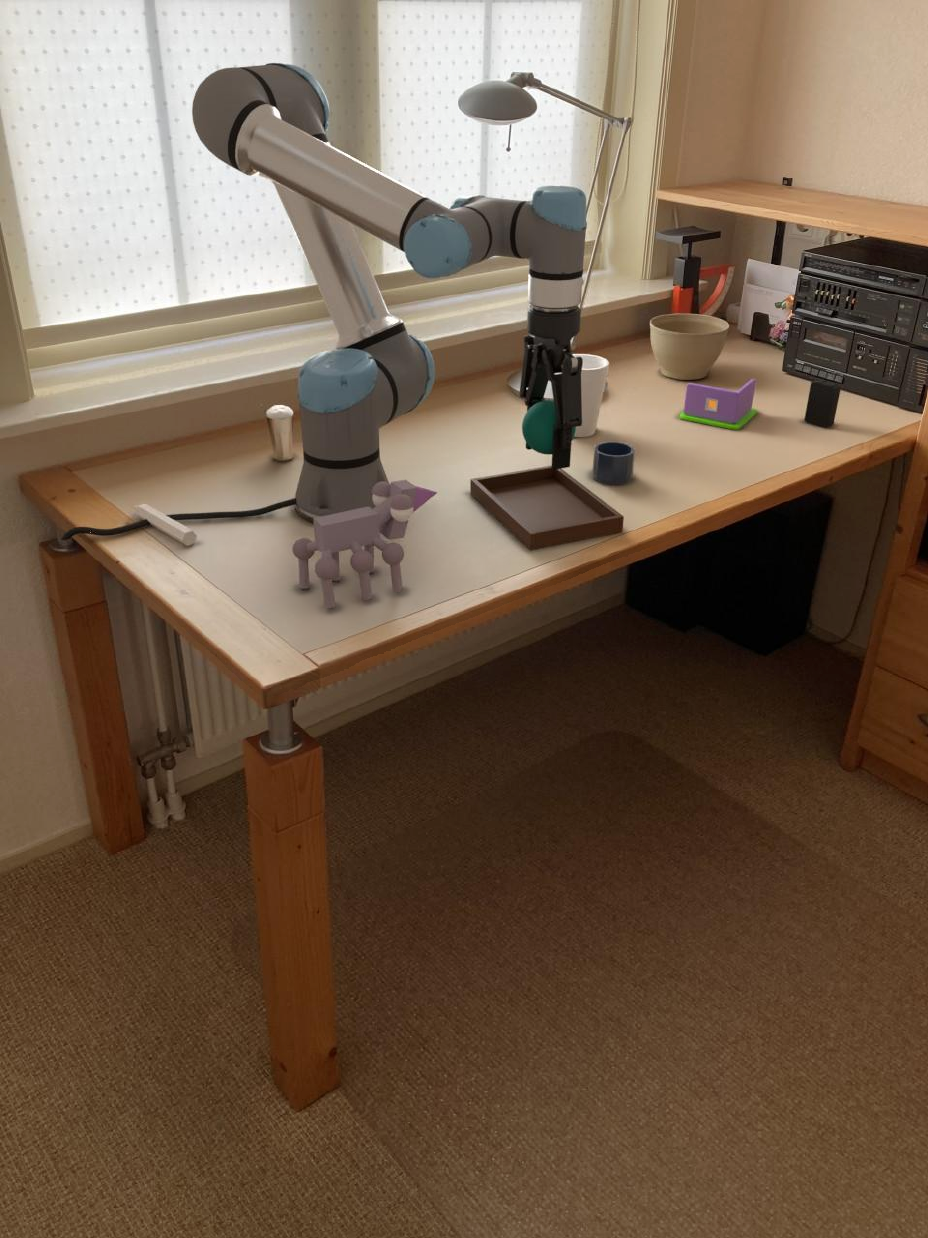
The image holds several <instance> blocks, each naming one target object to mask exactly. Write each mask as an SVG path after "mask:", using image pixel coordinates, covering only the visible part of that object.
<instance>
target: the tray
mask: <svg viewBox="0 0 928 1238" xmlns="http://www.w3.org/2000/svg"><path fill="white" fill-rule="evenodd" d="M469 483H470V485H469V487H470V488H469V489H470V491H469V492H470V495H471V496H472V497H473V498H474V499H475V500H476V501H477V502H478V503H479V504H481V506H483V507H484V508H485V509H486V510H487V511H488V512H489V513H490V514H491V515H492V516H493V517H494V518H496V519H497V521H498V522H500V523H501V524H502V525H503V526H504V527H505V528H506V529H507V530H508V531H509V532H510V533H511V534H512V535H513V536H514V537H516V538H517V540H519V542H520V543H522V544H523V545H524V546H525V547H526V548H527V549H528V550H529V551H532V550H537V549H542V548H543V549H544V548H547V547H552V546H559V545H564V544H568V543H573V542H580V541H584V540H589V539H594V538H598V537H603V536H609V535H614V534H619V533H623V532H624V531H623V530H624V521H625V516H624V515H623V514H621V513H620V512H619V511H617V510H616V509H615V508H614V507H612V506H611V505H609V504H608V503H607V502H606V501H604V500H603V499H602V498H601V497H599V496H598V495H597V494H595V493H594V492H593V491H592V490H590V489H589V488H587V487H586V486H585V485H584V484H582V483H581V482H580V481H578V479H576V478H574V477H573V476H572V475H571V474H569V473H568V472H567V471H565V470H564V468H561V469H555V470H554V469H552V465H546V466H541V467H535V468H528V469H521V470H518V471H509V472H505V473H499V474H498V473H497V474H493V475H487V476H480V477H474V478H470V481H469Z"/></svg>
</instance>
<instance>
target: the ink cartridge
mask: <svg viewBox="0 0 928 1238" xmlns="http://www.w3.org/2000/svg"><path fill="white" fill-rule="evenodd" d="M809 387H810V388H809V391H808V398H807V404H806V409H805V415H804V418H803V419H804V422H805V423H807V424H810V425H813V426H817V427H820V428H825V429H828V428H830V427H831V426H833V425H834V424H835V419H836V414H837V409H838V404H839V400H840V394H841V391H842V390H841V385H839V384H838V383H836V382H831V381H827V380H825V379H815V380H813V381H811V382H810V386H809Z"/></svg>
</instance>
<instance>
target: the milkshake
mask: <svg viewBox="0 0 928 1238" xmlns="http://www.w3.org/2000/svg"><path fill="white" fill-rule="evenodd" d="M260 406H261V408H262V410H263V411H264V413H265V416H266V421H267V425H268V430H269V436H270V442H271V446H272V454H273V458H274V460H276V461H278V462H287V461H290V460H292V459H293V458H294V454H293V453H294V452H293V451H294V449H293V448H294V445H293V442H294V439H293V437H294V436H293V435H294V432H293V431H294V411H293V409H292V408H290V407H289V406H286V405H284V404H274V405H273V406H271V407H269V408H268V409H267V410H265V409H264V407H263V405H262V404H260Z"/></svg>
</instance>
